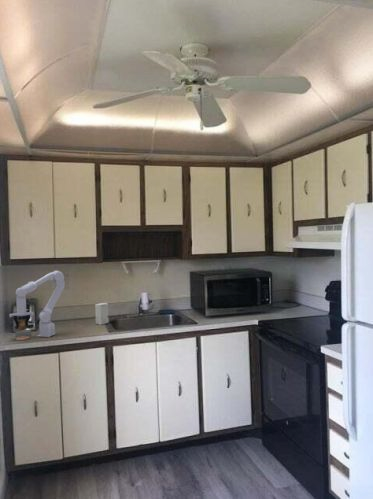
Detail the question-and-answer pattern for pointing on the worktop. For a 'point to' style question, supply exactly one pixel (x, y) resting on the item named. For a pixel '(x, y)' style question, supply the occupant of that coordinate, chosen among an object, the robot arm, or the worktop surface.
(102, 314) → the skincare box
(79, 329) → the worktop surface
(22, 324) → the walnut cylinder
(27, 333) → the low wall
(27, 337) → the coaster
